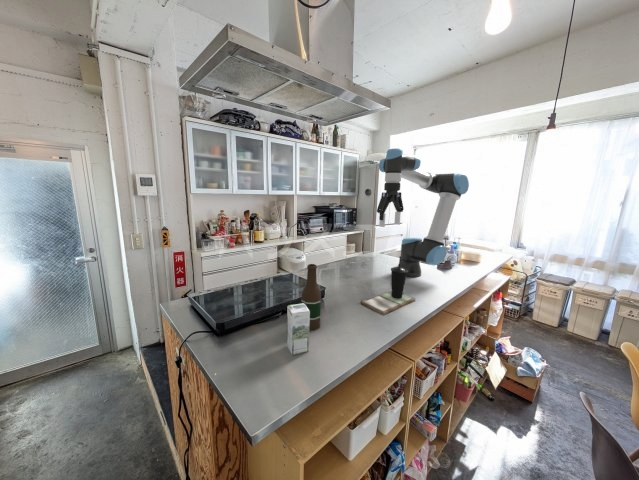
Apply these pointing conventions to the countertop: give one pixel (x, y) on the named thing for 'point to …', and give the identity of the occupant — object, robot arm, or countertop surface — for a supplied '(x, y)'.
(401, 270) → the drinking cup
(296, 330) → the syrup box
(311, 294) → the beer bottle
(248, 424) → the countertop surface
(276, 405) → the countertop surface
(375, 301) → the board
